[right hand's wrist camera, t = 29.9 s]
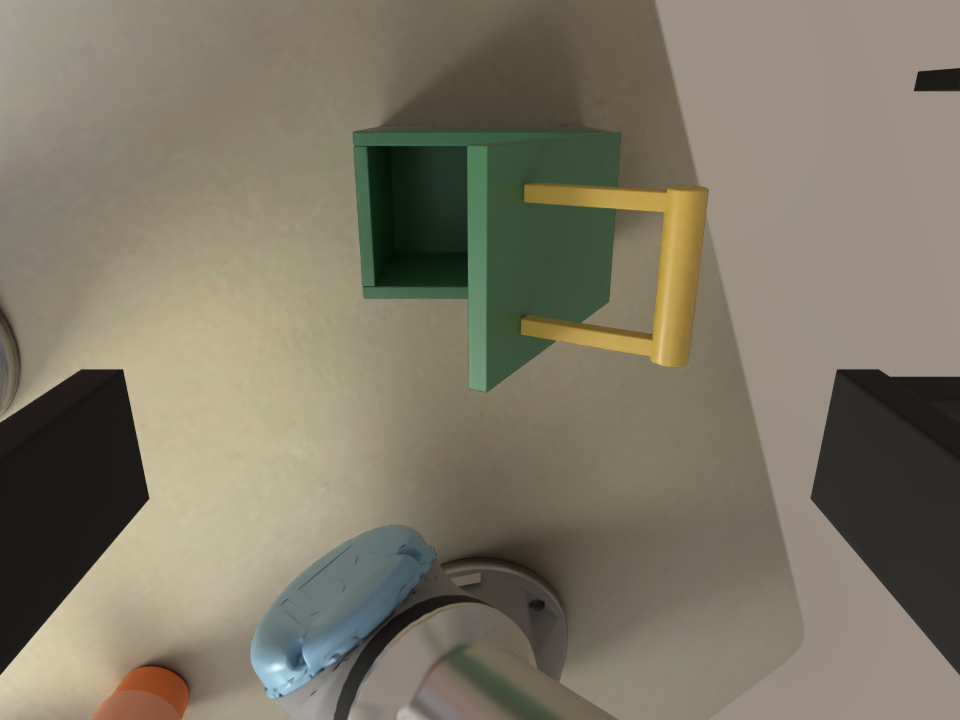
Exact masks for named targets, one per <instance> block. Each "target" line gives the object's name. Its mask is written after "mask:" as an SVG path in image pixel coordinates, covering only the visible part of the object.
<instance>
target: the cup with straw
mask: <svg viewBox="0 0 960 720" xmlns="http://www.w3.org/2000/svg"><path fill="white" fill-rule="evenodd" d="M188 700H189V691H188V688H187V686H186V684H185V682H184V681H183V680H182V679H181V678H180V677H179V676H178V675H176V674H175V673H173V672H171V671H169V670H167V669H164V668H160V667H153V666H148V667H142V668H138V669H136V670H134V671H132V672H131V673H129V674H128V675H127V676H126V677H125V679H124V680H123V681H122V683H121V684H120V685H119V686H118V688H117V689H116V690H115V692H114V693H113V694H112V695H111V696H110V697H108V698H107V699H106V700H105V701H104V703H103V704H102V705H101V706H100V708H99V709H98V710H97V712H96V713H95V714H94V715H93V717H92V718H91V719H90V720H182V717H183V714H184V712H185V709H186V706H187V703H188Z"/></svg>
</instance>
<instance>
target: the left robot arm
mask: <svg viewBox="0 0 960 720" xmlns="http://www.w3.org/2000/svg"><path fill="white" fill-rule="evenodd" d="M914 91H960V68H956V69H944V70H932V71H919V72H918V74H917V79H916V84H915V88H914ZM891 378H892V379H894V380H895V381H897V382H898V383H900V384H902V385H903V386H905V387H906V388H908V389H909V390H911V391H912V392H914V393H915V394H917V395H918V396H920V397H921V398H923V399H924V400H926V401H927V402H929V403H930V404H932V405H933V406H935V407H937V408H938V409H940V410H941V411H943V412H944V413H946V414H947V415H949V416H950V417H952V418H953V419H955V420H956V421H958V422H959V423H960V377H891ZM436 555H437V553H435V551H434V548H433V547H432V546H428V545H427V543H426V542H425V540H424V539H423V537H422V536H421V535H420V534H419V532H417V531H416V530H415V529H413V528H411V527H408V526H403V525H390V526H384V527H380V528H376V529H373V530H370V531H368V532H365V533H363V534H361V535H359V536H357V537H355V538H353V539H351V540H349V541H347V542H345V543H343V544H341V545H340V546H338V547H336V548H335V549H333V550H332V551H330V552H329V553H327V554H326V555H325V556H323V557H322V558H320V559H319V560H318V561H316V562H315V563H314V564H312V565H311V566H310V567H309V568H307V569H306V570H305V571H304V572H303V573H302V574H301V575H299V576H298V577H297V578H296V579H295V580H294V581H293V582H292V583H291V584H290V585H289V586H288V587H287V588H286V589H285V590H284V591H283V592H282V593H281V594H280V595H279V597H278V598H277V599H276V600H275V601H274V603H273V604H272V605H271V607H270V608H269V610H268V612H267V613H266V614H265V615H264V617H263V618H262V620H261V621H260V623H259V625H258V627H257V630H256V632H255V634H254V637H253V640H252V644H251V652H250V656H251V663H252V666H253V668H254V670H255V672H256V674H257V675H258V676H259V678H260V679H261V681H262V682H263V684H264V685H265V694H266V695H267V696H268V697H269V698H270V699H271V700H273V699H275V700H276V702H277V703H278V704H279V706H280V707H281V708H282V709H283V711H284V712H285V713H286V715H287V716H288V717H289V718H290V720H618V719H617V718H615V717H613V716H612V715H610V714H609V713H607V712H605V711H604V710H602V709H601V708H599V707H597V706H596V705H594V704H593V703H591V702H589V701H588V700H586V699H585V698H583V697H581V696H580V695H578V694H577V693H575V692H573V691H572V690H570V689H569V688H567V687H565V686H564V685H562V684H561V683H559V680H560V676H561V673H562V669H563V665H564V661H565V657H566V652H567V642H568V631H567V624H566V618H565V613H564V609H563V607H562V604H561V602H560V600H559V598H558V596H557V595H556V593H555V592H554V590H553V589H552V588H551V587H550V586H549V584H547V583H546V582H545V581H544V580H543V579H542V578H541V577H539V576H538V575H537V574H535V573H534V572H532V571H530V570H528V569H526V568H524V567H522V566H520V565H517V564H515V563H511V562H508V561H504V560H499V559H491V558H471V559H463V560H459V561H454V562H451V563H448V564H445V565H442V566H440V564H439V562H438V561H437V559H436Z"/></svg>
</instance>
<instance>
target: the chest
mask: <svg viewBox="0 0 960 720" xmlns="http://www.w3.org/2000/svg"><path fill="white" fill-rule="evenodd" d="M599 132H610V131H605V130H599V129H594V128H588V127H585V126H378V127H375V128H370V129H365V130H359V131H354V132H353V144H354V162H355V178H356V193H357V209H358V225H359V240H360V256H361V272H362V285H363V297H364V298H401V299H468V185H467V146H468V145H469V144H479V143H490V142H501V141H512V140H523V139H534V138H545V137H556V136H566V135H577V134H588V133H599Z"/></svg>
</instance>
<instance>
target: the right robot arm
mask: <svg viewBox="0 0 960 720" xmlns="http://www.w3.org/2000/svg"><path fill="white" fill-rule="evenodd" d="M18 381H19V357H18V352H17V347H16V344H15V341H14V338H13V335H12V333H11V330H10V328H9V326H8V324H7V322H6V320H5V319H4V317H3V316H2V314H1V312H0V417H1V416H2V415H3V414H4V413H5V411H6V410H7V408H8V407H9V406H10V404H11V402H12V400H13V398H14V396H15V393H16V390H17V386H18ZM148 500H149V494H148V489H147V484H146V480H145V475H144V470H143V465H142V460H141V455H140V450H139V445H138V440H137V435H136V431H135V426H134V421H133V416H132V411H131V406H130V401H129V396H128V391H127V386H126V382H125V377H124V372H123V369H81V370H80V371H78V372H77V373H75V374H74V375H72V376H71V377H69V378H68V379H66V380H65V381H63V382H62V383H60V384H58V385H57V386H55V387H54V388H52V389H51V390H49V391H48V392H46V393H45V394H43V395H42V396H40V397H39V398H37V399H36V400H34V401H33V402H31V403H30V404H28V405H27V406H25V407H23V408H22V409H20V410H19V411H17V412H16V413H14V414H13V415H11V416H10V417H8V418H7V419H5V420H4V421H2V422H1V423H0V675H1V674H2V672H3V671H4V670H5V669H6V668H7V667H8V665H9V664H10V663H11V662H12V661H13V659H14V658H15V657H16V656H17V655H18V654H19V652H20V651H21V650H22V649H23V648H24V646H25V645H26V644H27V643H28V642H29V640H30V639H31V638H32V637H33V636H34V635H35V633H36V632H37V631H38V630H39V629H40V627H41V626H42V625H43V624H44V623H45V622H46V620H47V619H48V618H49V617H50V616H51V614H52V613H53V612H54V611H55V610H56V609H57V607H58V606H59V605H60V604H61V603H62V601H63V600H64V599H65V598H66V597H67V596H68V594H69V593H70V592H71V591H72V590H73V588H74V587H75V586H76V585H77V584H78V583H79V581H80V580H81V579H82V578H83V577H84V575H85V574H86V573H87V572H88V571H89V570H90V568H91V567H92V566H93V565H94V564H95V562H96V561H97V560H98V559H99V558H100V556H101V555H102V554H103V553H104V552H105V551H106V549H107V548H108V547H109V546H110V545H111V543H112V542H113V541H114V540H115V539H116V538H117V536H118V535H119V534H120V533H121V532H122V530H123V529H124V528H125V527H126V526H127V525H128V523H129V522H130V521H131V520H132V519H133V517H134V516H135V515H136V514H137V513H138V512H139V510H140V509H141V508H142V507H143V506H144V504H145V503H146V502H147V501H148ZM811 500H812V501H813V502H814V503H815V504H816V506H817V507H818V508H819V509H820V510H821V512H822V513H823V514H824V515H825V516H826V517H827V519H828V520H829V521H830V522H831V523H832V525H833V526H834V527H835V528H836V529H837V530H838V532H839V533H840V534H841V535H842V536H843V538H844V539H845V540H846V541H847V542H848V543H849V545H850V546H851V547H852V548H853V549H854V550H855V552H856V553H857V554H858V555H859V556H860V558H861V559H862V560H863V561H864V562H865V564H866V565H867V566H868V567H869V568H870V570H871V571H872V572H873V573H874V574H875V575H876V577H877V578H878V579H879V580H880V581H881V583H882V584H883V585H884V586H885V587H886V588H887V590H888V591H889V592H890V593H891V594H892V596H893V597H894V598H895V599H896V600H897V601H898V603H899V604H900V605H901V606H902V607H903V609H904V610H905V611H906V612H907V613H908V614H909V616H910V617H911V618H912V619H913V620H914V621H915V623H916V624H917V625H918V626H919V627H920V629H921V630H922V631H923V632H924V633H925V635H926V636H927V637H928V638H929V639H930V641H931V642H932V643H933V644H934V645H935V646H936V648H937V649H938V650H939V651H940V652H941V654H942V655H943V656H944V657H945V658H946V659H947V661H948V662H949V663H950V664H951V665H952V667H953V668H954V669H955V670H956V671H957V672H958V674H959V675H960V423H959V422H958V421H956V420H955V419H953V418H952V417H950V416H949V415H947V414H946V413H944V412H943V411H941V410H940V409H938V408H937V407H935V406H933V405H932V404H930V403H929V402H927V401H926V400H924V399H923V398H921V397H920V396H918V395H917V394H915V393H914V392H912V391H911V390H909V389H908V388H906V387H905V386H903V385H902V384H900V383H898V382H897V381H895V380H894V379H892V378H891V377H889V376H888V375H886V374H885V373H883V372H882V371H880V370H878V369H859V370H858V369H850V370H849V369H839V370H837V372H836V377H835V382H834V387H833V391H832V396H831V401H830V406H829V411H828V416H827V421H826V426H825V431H824V435H823V440H822V446H821V450H820V455H819V460H818V465H817V470H816V475H815V480H814V484H813V489H812V494H811Z"/></svg>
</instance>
